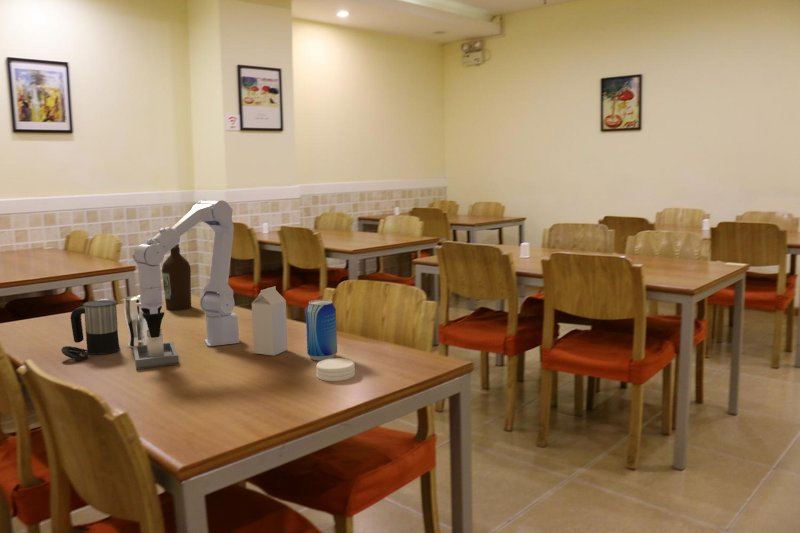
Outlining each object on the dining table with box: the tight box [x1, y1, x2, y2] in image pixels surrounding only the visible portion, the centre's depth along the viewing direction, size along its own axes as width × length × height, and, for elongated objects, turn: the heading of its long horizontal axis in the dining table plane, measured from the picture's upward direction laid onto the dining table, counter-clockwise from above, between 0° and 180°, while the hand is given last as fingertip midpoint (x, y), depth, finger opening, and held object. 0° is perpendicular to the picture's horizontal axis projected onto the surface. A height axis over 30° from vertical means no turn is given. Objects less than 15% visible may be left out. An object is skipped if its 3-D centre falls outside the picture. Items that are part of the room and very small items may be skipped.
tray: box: [132, 341, 180, 370], centre depth 190 cm, size 11×16×3 cm
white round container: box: [315, 357, 356, 382], centre depth 173 cm, size 10×10×4 cm
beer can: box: [305, 299, 338, 361], centre depth 189 cm, size 8×8×16 cm
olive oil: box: [161, 243, 192, 311], centre depth 260 cm, size 11×11×25 cm
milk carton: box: [251, 285, 289, 357], centre depth 195 cm, size 7×7×19 cm
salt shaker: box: [146, 328, 164, 358], centre depth 189 cm, size 4×4×8 cm
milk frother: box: [60, 299, 121, 361], centre depth 195 cm, size 14×16×15 cm
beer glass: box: [123, 295, 149, 349], centre depth 205 cm, size 7×7×15 cm
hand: (154, 334), depth 189 cm, fingers open, 7 cm apart
